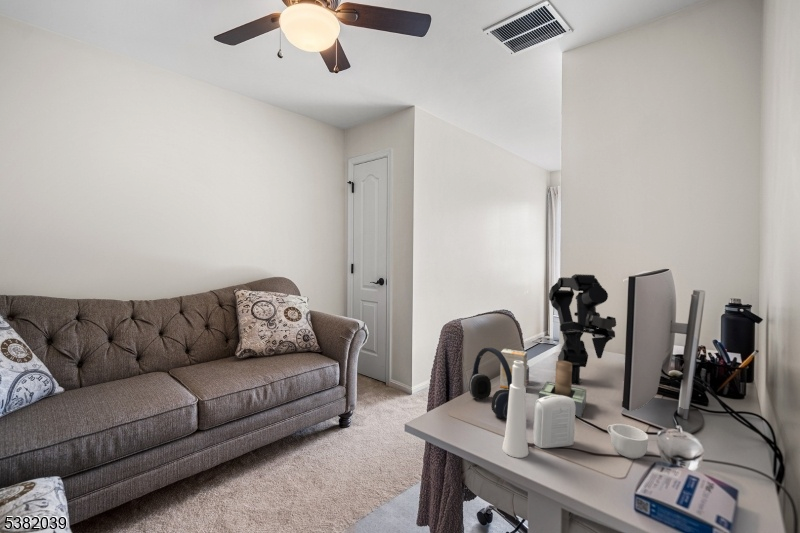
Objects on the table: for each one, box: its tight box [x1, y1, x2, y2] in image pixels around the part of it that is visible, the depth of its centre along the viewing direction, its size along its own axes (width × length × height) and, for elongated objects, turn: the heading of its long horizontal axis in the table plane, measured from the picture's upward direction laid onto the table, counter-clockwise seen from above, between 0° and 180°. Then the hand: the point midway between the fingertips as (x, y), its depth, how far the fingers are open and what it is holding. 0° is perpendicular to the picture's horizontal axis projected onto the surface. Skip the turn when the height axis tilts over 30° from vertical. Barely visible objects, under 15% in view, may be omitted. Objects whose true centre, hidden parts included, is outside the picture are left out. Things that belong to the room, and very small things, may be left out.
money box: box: [538, 381, 587, 419], centre depth 112 cm, size 12×12×4 cm
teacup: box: [606, 423, 649, 460], centre depth 87 cm, size 10×8×5 cm
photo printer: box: [532, 395, 576, 449], centre depth 89 cm, size 10×4×12 cm, turn 103°
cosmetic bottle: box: [501, 360, 529, 459], centre depth 85 cm, size 6×6×22 cm
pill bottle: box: [526, 364, 530, 385], centre depth 131 cm, size 5×5×9 cm
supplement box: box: [499, 348, 528, 390], centre depth 126 cm, size 8×5×13 cm, turn 58°
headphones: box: [468, 347, 512, 419], centre depth 109 cm, size 20×7×18 cm, turn 18°
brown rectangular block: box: [554, 360, 572, 398], centre depth 112 cm, size 5×5×13 cm
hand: (589, 356), depth 116 cm, fingers open, 9 cm apart
